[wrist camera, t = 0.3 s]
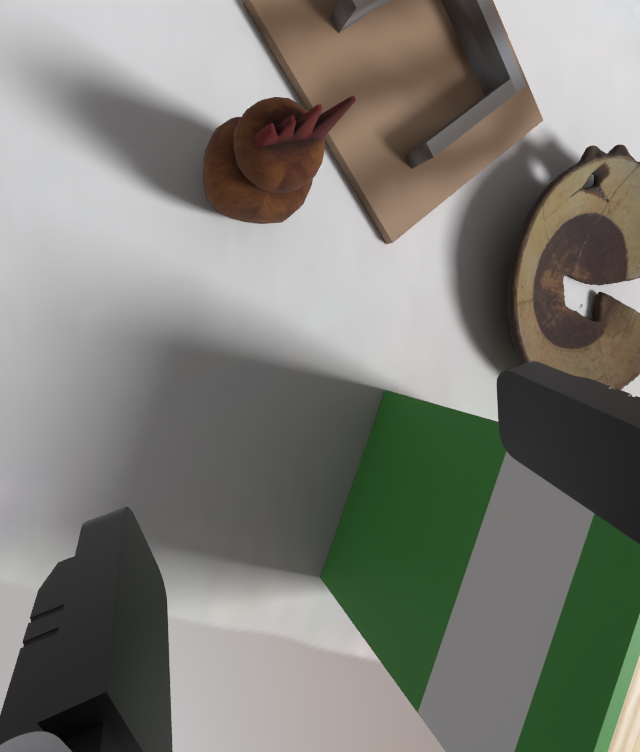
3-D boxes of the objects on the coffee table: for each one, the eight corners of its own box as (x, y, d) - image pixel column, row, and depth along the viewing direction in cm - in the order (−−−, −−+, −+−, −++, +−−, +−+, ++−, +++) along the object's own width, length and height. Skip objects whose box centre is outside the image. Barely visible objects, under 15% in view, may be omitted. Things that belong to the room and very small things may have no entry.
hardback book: (385, 389, 40) (685, 475, 18) (447, 412, 43) (771, 509, 21) (320, 577, 40) (547, 892, 18) (387, 588, 43) (653, 869, 21)
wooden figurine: (288, 161, 35) (390, 58, 21) (282, 237, 35) (377, 186, 22) (198, 138, 32) (246, 4, 18) (192, 221, 33) (235, 151, 19)
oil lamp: (656, 206, 51) (739, 188, 44) (593, 463, 52) (665, 485, 45) (510, 127, 42) (586, 89, 35) (439, 438, 44) (498, 462, 36)
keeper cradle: (243, 3, 32) (257, -38, 29) (434, -109, 37) (468, -156, 33) (386, 244, 39) (413, 236, 35) (534, 124, 43) (571, 106, 40)
